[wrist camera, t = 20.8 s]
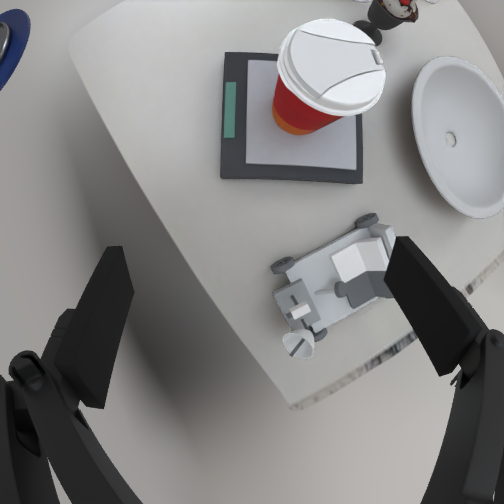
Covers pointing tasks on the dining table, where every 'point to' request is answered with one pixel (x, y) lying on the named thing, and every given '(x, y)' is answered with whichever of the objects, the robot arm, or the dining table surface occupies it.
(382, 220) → the dining table surface
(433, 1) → the pepper shaker
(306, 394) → the dining table surface
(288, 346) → the toy car
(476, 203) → the white bowl
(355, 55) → the coffee cup
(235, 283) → the dining table surface
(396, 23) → the sundae
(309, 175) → the scale
